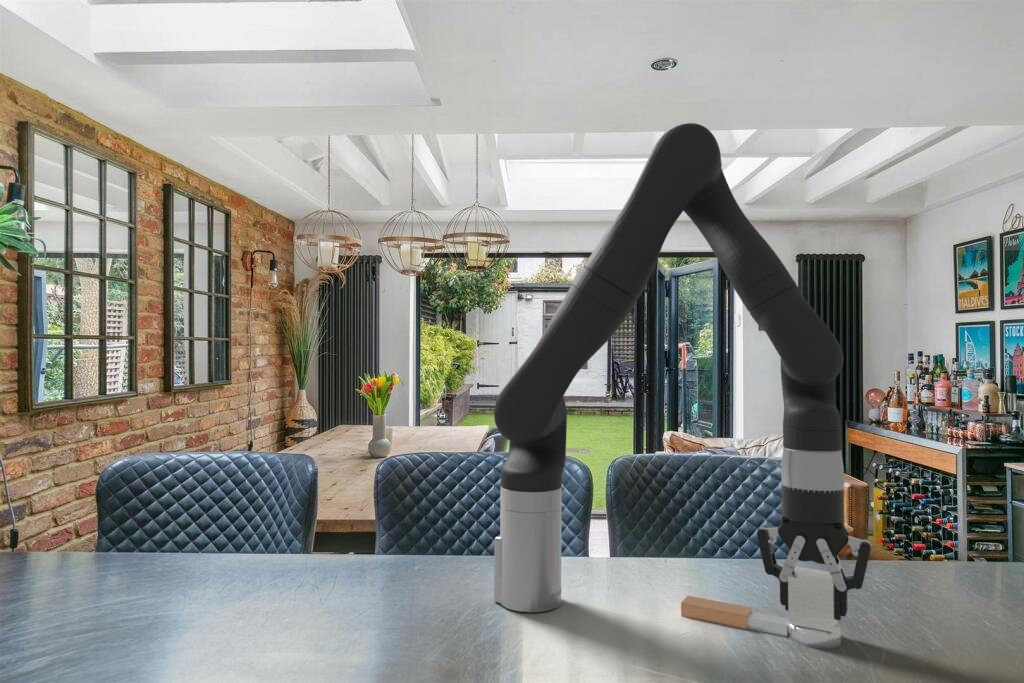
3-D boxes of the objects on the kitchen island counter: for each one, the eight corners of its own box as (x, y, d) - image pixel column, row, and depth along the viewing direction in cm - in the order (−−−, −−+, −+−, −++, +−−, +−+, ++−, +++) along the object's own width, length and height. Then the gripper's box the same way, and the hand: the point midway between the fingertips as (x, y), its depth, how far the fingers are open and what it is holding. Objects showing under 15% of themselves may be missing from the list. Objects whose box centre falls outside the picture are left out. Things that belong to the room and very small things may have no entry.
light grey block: (788, 623, 86) (788, 576, 86) (794, 610, 90) (794, 566, 90) (833, 632, 83) (833, 583, 83) (837, 618, 87) (837, 572, 88)
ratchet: (677, 619, 92) (677, 583, 93) (690, 605, 98) (690, 571, 98) (838, 653, 82) (838, 612, 82) (843, 635, 87) (842, 596, 88)
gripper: (749, 482, 88) (750, 611, 87) (872, 493, 80) (874, 635, 80) (760, 474, 94) (761, 595, 93) (875, 484, 87) (877, 615, 86)
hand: (813, 613), depth 86 cm, fingers closed on light grey block, 5 cm apart
